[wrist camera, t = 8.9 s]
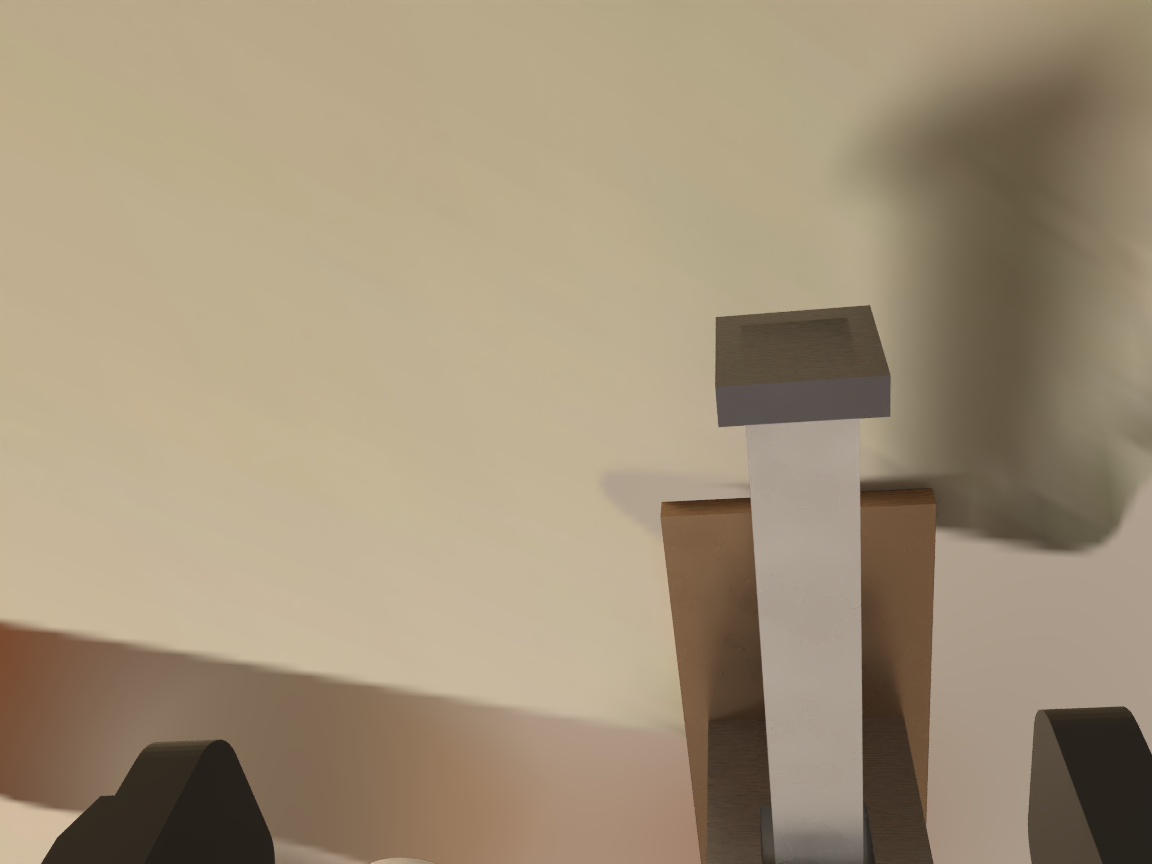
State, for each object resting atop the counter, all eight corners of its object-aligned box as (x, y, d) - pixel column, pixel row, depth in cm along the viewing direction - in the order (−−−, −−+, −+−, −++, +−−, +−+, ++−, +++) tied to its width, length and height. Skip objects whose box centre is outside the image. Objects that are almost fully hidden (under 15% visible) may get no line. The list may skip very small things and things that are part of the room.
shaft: (869, 305, 31) (890, 375, 27) (871, 864, 43) (886, 966, 39) (716, 317, 32) (715, 386, 28) (759, 863, 44) (762, 964, 40)
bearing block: (931, 488, 40) (1000, 714, 30) (918, 937, 53) (963, 1198, 43) (661, 502, 42) (643, 719, 32) (711, 933, 54) (710, 1185, 45)
